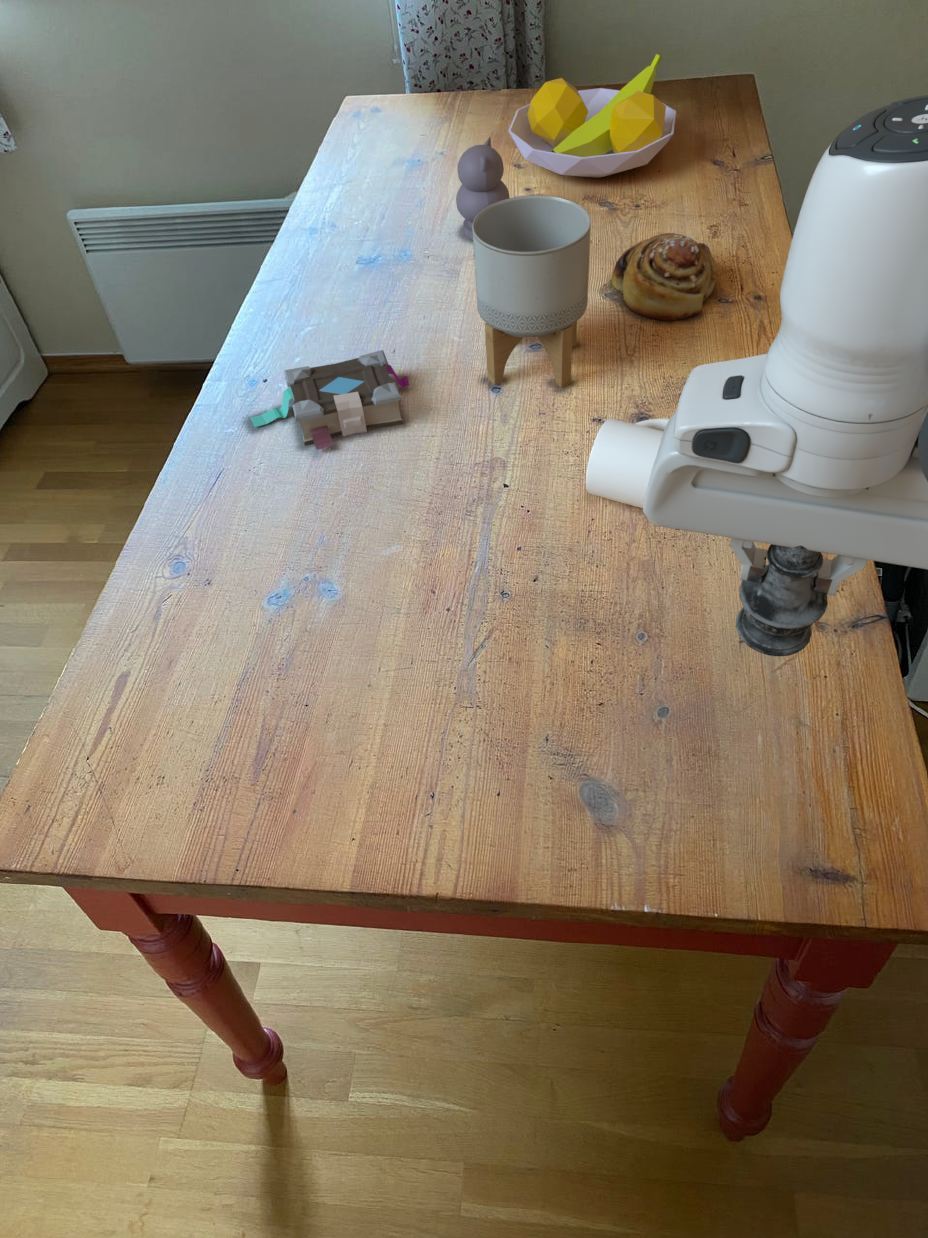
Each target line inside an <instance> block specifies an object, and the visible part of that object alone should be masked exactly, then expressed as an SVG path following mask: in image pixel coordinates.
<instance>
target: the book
mask: <svg viewBox="0 0 928 1238" xmlns="http://www.w3.org/2000/svg"><path fill="white" fill-rule="evenodd" d="M283 373H284V378H285V380H286V385H287V388H286V389H285V390H283V395H282V403H281V406H280V407H279V408H277V407H274V408H271V409H270V410H267V411H266V412H264V413H262V414H260V415H256V416H252V417H249V419H250V422H251V423H252V425H253V427H254V428H258V427H261V426H265V425H268V424H270V423H271V422H273V421H275V420H276V419H278V418H283V419H285V418H287V415H288V412H289V405H290V400H291V399H292V401H293V403H294V404H292V405H291V406H292V410H293V414H294V418H295V422H296V423H299V424H300V430H301V434H302V439H303V443H304V446H309V445H312V444H314V447H315V449H316V451H319V450H323V449H325V448H330V447H332V446H335V444H334V442H333V439H332V438H334V437H338V436H340V435H342V438H344V437H348V436H350V435H353V434H359V433H367V432H368V431H367V429H375V428H381V427H388V426H394V425H402V424H404V422H403V419H402V416H401V412H400V404H399V401H402V395H401V392H400V389H399V387H400V388H401V389H405V388H406V387H409V386H410V383H409V382H410V381H409V378H408V375H404V376H402V378H400V377H399V375H397V374H396V372H395V369H394V368H393V366H392V365H391V364H389V361H388V359H387V357H386V354H385V351H384V350H383V349H381V350H377V351H373V352H369V353H365V354H363V355H359V357H355V358H352V359H348V360H344V361H340V362H336V363H330V364H324V365H319V366H313V367H310V366H309V365H306V366H301V367H295V368H289V369H284V370H283ZM391 376H393V378H394V379H395V381H396V383H394V382H393V380H392V378H391ZM397 384H398V385H399V387H398V385H397Z"/></svg>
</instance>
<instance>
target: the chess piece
mask: <svg viewBox="0 0 928 1238" xmlns="http://www.w3.org/2000/svg"><path fill="white" fill-rule="evenodd" d="M767 550H768V551H767V558H766V560H767V561H768V564H766V565H765V570H764V574H763V577H762V582H761V583H758V582H752V581H745V580H741V583H740V585H739V589H738V590H739V595H738V597H739V599H740V601H741V605H742V608H741V609H740V610H739V611H738V613H737V616H736V617H735V618H736V619H735V629H736V632H737V635H738V636H739V638H740V639H741V641H742V642H743V643H744V644H745V645H747V647H749V648H750V649H751V650H753V651H756V652H758V653H760V654H763V655H767V656H771V657H790V656H792V655H796V654H798V653H800V652H801V651H803V650H804V649H805V648H806V647H807V646H808V644H809V643H810V641H811V639H812V635H813V630H812V629H813V628H812V626H813V625H814V624H815V623H816V622H818V621H819V620H820V619H821V618H822V617H823V616H824V614H825V613H826V611H827V608H828V603H829V602H828V601H829V599H828V595H826V594H821V593H816V592H812V587H813V577H814V574H815V573H817V572H818V571H819V570H820V569H821V567H822V564H823V559H824V556H823V553H822V552H816V551H810V550H807V549H806V548H805V547H803V546H797V547H785V546H779V545H772V544H769V546H768V548H767Z"/></svg>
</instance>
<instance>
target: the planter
mask: <svg viewBox="0 0 928 1238" xmlns="http://www.w3.org/2000/svg"><path fill="white" fill-rule="evenodd" d="M591 219H592V218H591V216H590V214H589V212H588V211H587V210H586V209H585V208H584V207H583V206H582V205H580V204H578V203H576V202H575V201H572V200H569V199H567V198H563V197H559V196H552V195H543V194H542V195H540V194H539V195H538V194H535V195H534V194H533V195H532V194H531V195H521V196H514V197H510V198H509V199H505V200H502V201H499V202H497V203H494V204H492V205H490V206H488V207H486V208H485V209H484V210H482V211H481V212H480V213H479V214H478V215H477V216H476V218H475V219H474V222H473V226H472V230H473V240H472V244H473V261H474V278H475V293H476V294H475V295H476V307H477V313H478V315H479V317H480V318H481V319H482V321H483V322H485V323H484V339H485V352H486V353H485V356H486V372H487V375H486V376H487V381H488V382H490V383H491V384H492V385H493V386H496V385H499V384H501V383H503V382H504V373H505V370H506V369H505V368H506V365H507V362H508V361H509V358H510V356H511V354H512V352H513V351H514V349H515V348H516V347H517V345H519V343H520V342H521V341H522V340H523V339H525V338H528V339H534V338H535V339H536V338H537V340H539V342H540V343H541V345H542V346H543V348H544V350H545V352H546V354H547V356H548V358H549V361H550V363H551V366H552V371H553V377H554V384H555V385H557V386H558V387H559V388H561V389H563V388H564V387H566V386H569V385H570V384H571V383H572V360H573V359H572V358H573V357H572V356H573V355H572V354H573V347H575V346H577V334H578V320H580V319H581V318H582V317H583V315H584V314H586V311H587V308H588V301H589V282H590V281H589V278H590V273H589V272H590V258H591V257H590V256H591V255H590V254H591V231H592V220H591Z"/></svg>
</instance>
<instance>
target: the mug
mask: <svg viewBox="0 0 928 1238" xmlns="http://www.w3.org/2000/svg"><path fill="white" fill-rule="evenodd" d="M669 420H670V418H651V419H645V420H641V421H637V422H635V423H632V422H628V421H624V420H619V419H615V418H608V419H607V420H605V421H604V422H603V424H602V425H601V426H600V429H599V430H598V432H597V434H596V437H595V439H594V441H593V443H592V447H591V450H590V454H589V457H588V462H587V466H586V474H585V488H586V492H587V493H588V494H590V495H593V496H596V497H600V498H603V499H607V500H611V501H615V502H617V503H622V504H624V505H628V506H633V507H636V508H640V509H643V505H644V500H645V495H646V491H647V487H648V483H649V479H650V475H651V470H652V467H653V464H654V461H655V457H656V454H657V451H658V447H659V444H660V441H661V438H662V435H663V433H664V430H665V427H666V425H667V423H668V421H669Z"/></svg>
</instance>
